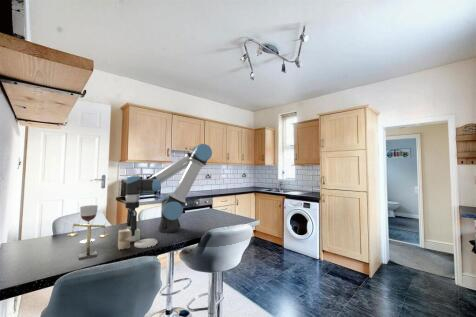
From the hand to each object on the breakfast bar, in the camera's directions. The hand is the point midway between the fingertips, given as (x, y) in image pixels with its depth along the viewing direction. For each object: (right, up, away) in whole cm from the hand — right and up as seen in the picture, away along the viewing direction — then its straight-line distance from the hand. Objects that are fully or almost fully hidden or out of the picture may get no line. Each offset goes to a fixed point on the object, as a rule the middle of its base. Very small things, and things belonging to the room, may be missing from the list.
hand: (130, 239), depth 128 cm
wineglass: (-24, 0, -3) cm, 24 cm away
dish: (+13, 0, -8) cm, 15 cm away
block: (+3, +1, -13) cm, 13 cm away
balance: (-8, +1, -25) cm, 26 cm away
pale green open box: (0, 0, 0) cm, 0 cm away
